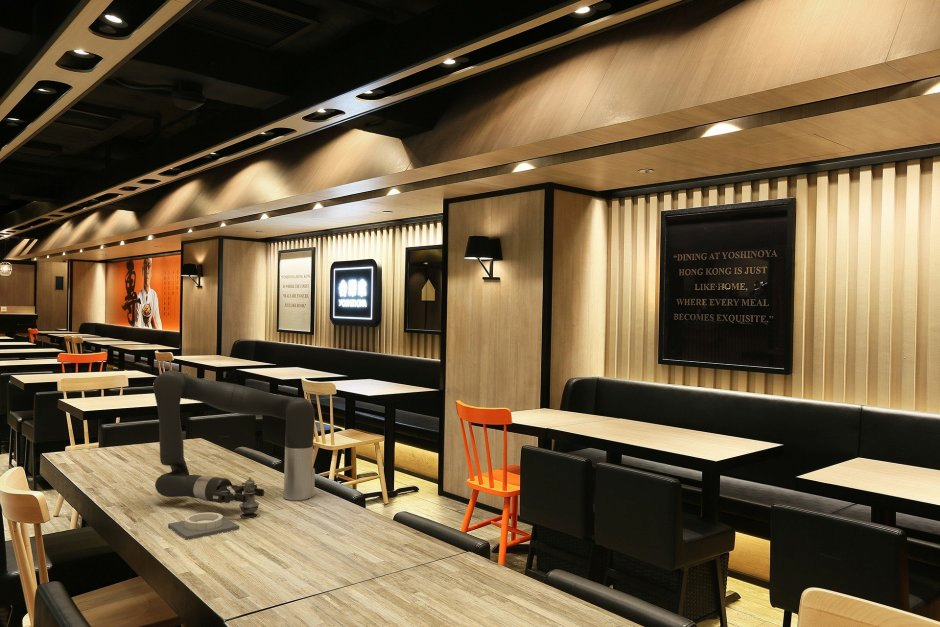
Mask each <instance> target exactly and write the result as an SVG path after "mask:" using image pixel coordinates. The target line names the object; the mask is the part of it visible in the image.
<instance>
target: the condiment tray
mask: <svg viewBox="0 0 940 627" xmlns="http://www.w3.org/2000/svg"><path fill="white" fill-rule="evenodd" d="M167 527H168V528H169V529H170V528H171V529H172V532H174V531H175V532H174V533H176V535H178V534H179V536H180V537H181V536H182V537H181V538H183V539H184V538H185V539H184V540H186V541H187V540H188V539H189V540H194V539H198V538H203V536H204V537H208V536H212V535H217V534H218V533H219V534H223V533H227V531H228V532H232V531H231V530H233V531H237V529H238V530H240V525H239V524H237V523H235V522H234V521H232V520H230V519H229V518H227V517H225V516H224V515H222V514H221V513H217V512H200V513H199V512H198V513H193V514H191V515H188V516H186V517H185V519H184V520H181V521H175V522H171V523H170V522H169V523H168V524H167ZM171 529H170V530H171ZM222 532H223V533H222ZM193 538H194V539H193ZM189 540H188V541H189Z"/></svg>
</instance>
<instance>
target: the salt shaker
mask: <svg viewBox="0 0 940 627" xmlns="http://www.w3.org/2000/svg"><path fill="white" fill-rule="evenodd" d="M244 483H245V491H244V492H243V491H242V494H245V495H247V502H245V503H244V502H240V503H239V505H238V506H239V509H240V511H241V513H242V514H240V515H239V518H240V517H241V518H240V519H243V518H246V519H245V520H248V519H247V518H252V519H255V518H254V517H256V516H257V515H258V514H257V513H256V512H257V510H258V508H259V506H260V503H259V502H257V501H256V499H255V492H256V491H254V488H255V485H256V482H255V481H254V480H253V479H252V478H251V476H249V477H248V480H245V482H244ZM257 517H258V516H257ZM257 517H256V518H257Z"/></svg>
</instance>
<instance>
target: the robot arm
mask: <svg viewBox="0 0 940 627" xmlns="http://www.w3.org/2000/svg"><path fill="white" fill-rule="evenodd" d="M152 389H153V393H154V398H155V403H156V408H157V414H158V426H159V429H158V430H159V431H158V432H159V460H160V463H161V465H163V466H167V467H169V466H170V469H171V471H169V472H166V473H163V474H161V475H159V476H158V477H157V479H156V480H155V484H154V486H155V491H156V492H157V493H158V494H159V495H161V496H163V497H167V498H181V497H185V498H187V497H189V498H193V499H199V500H201V501H202V500H203V501H205V502H212V503H217V504H223V503H225V504H230V503H231V502H232V503H235V502H239V503H243V502H244V503H245V502H247V495H245V494H244V493H243V492H244V491H245V482H242V483H241V484H237V483H234V484H233V483H232V482H231V480H230V479H229V478H225V477H221V476H220V477H218V476H213V475H201V474H200V475H199V474H190V471H189V467H188V466H187V462H186V460H185V455H184V454H185V453H184V450H185V448H184V435H183V430H182V423H181V416H180V414H181V412H180V410H181V400H182V399H183V400H189V401H197V402H199V403H203V404H205V405H208V406H210V407H212V408H215V409H217V410H221V411H224V412H229V413H234V414H239V415H245V416H247V415H248V416H270V417H275V418H279V419H282V420H285V435H284V437H285V438H284V439H285V440H284V469H283V470H284V473H283V474H284V477H283V479H284V480H283V499H285V500H288V501H304V500H308V498H309V499H311V498H312V497H313V498H314V497H315V486H316V484H315V482H316V481H315V480H316V479H315V478H316V475H315V474H316V469H315V467H314V466H313V464H314V461H313V460H314V459H313V458H314V439H315V417H316V416H315V409H314V406H313V404H312V403H311V401H310V400H309V399H307V398H304V397H298V396H297V397H295V396H287V395H286V396H285V395H279V394H273V393H270V392H267V391H264V390H260V389H257V388H252V387H250V386H246V385H240V384H235V383H229V382H223V381H216V380H210V379H209V380H208V379H205V378H204V379H203V378H199V377H195V376H193V375H189V374H186V373H183V372H181V371H177V370H166V371H163V372H161V373H159V375H157V377H156V378H154V381H153V384H152ZM254 491H256V492H255V496H256V497H264V495H265V489H264V488H259V487H258V485H257V484H255V488H254Z"/></svg>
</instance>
